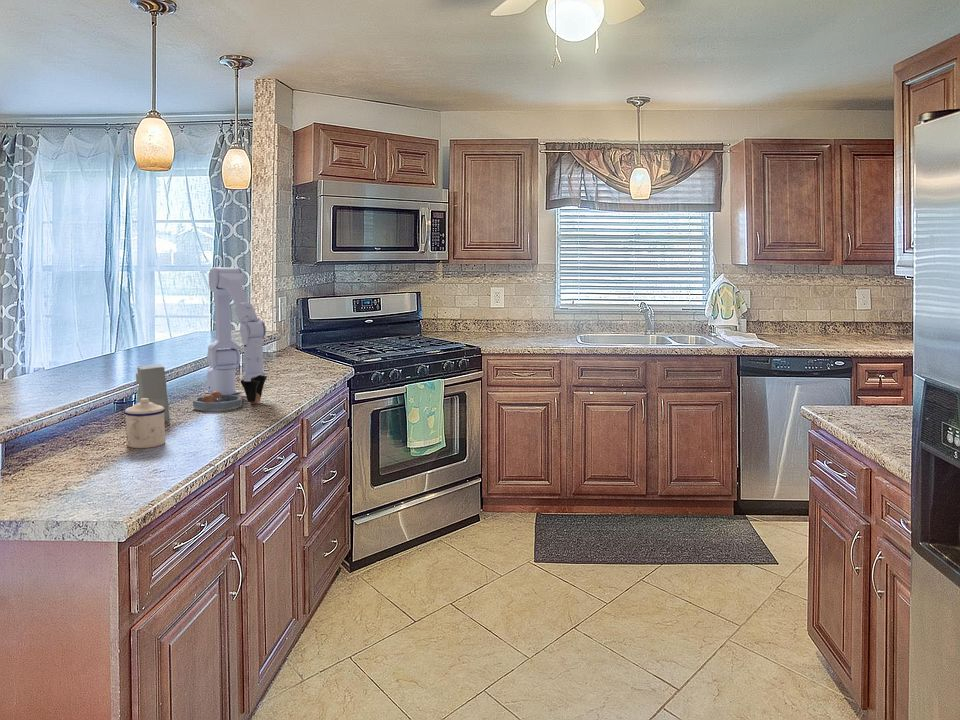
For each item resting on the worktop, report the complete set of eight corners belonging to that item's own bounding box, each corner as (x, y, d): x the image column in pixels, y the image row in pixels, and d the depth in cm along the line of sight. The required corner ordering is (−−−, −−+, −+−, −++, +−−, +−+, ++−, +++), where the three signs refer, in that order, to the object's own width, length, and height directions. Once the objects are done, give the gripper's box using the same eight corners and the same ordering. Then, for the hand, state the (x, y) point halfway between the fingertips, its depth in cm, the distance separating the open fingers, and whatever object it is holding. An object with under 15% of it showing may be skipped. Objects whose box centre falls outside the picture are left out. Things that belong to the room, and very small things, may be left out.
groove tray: (184, 407, 213) (184, 399, 213) (220, 400, 225) (220, 392, 225) (215, 413, 206) (214, 405, 206) (250, 405, 219) (250, 397, 218)
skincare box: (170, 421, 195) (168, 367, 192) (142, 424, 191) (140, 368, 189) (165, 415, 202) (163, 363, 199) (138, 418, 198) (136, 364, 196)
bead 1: (207, 403, 218) (206, 391, 217) (217, 400, 221) (215, 389, 220) (215, 404, 216) (214, 392, 215) (225, 401, 219) (224, 390, 218)
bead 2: (245, 404, 220) (245, 392, 220) (254, 402, 224) (254, 391, 223) (254, 405, 219) (254, 394, 218) (263, 403, 222) (263, 392, 221)
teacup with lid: (139, 438, 176) (137, 394, 174) (173, 440, 175) (171, 395, 173) (110, 451, 164) (108, 403, 162) (147, 453, 163) (144, 405, 161)
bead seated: (199, 406, 212) (199, 394, 211) (209, 404, 215) (209, 392, 215) (207, 407, 210) (207, 395, 210) (217, 405, 213) (217, 393, 213)
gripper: (259, 361, 212) (260, 404, 214) (272, 355, 226) (273, 395, 228) (236, 361, 212) (237, 404, 214) (251, 355, 226) (252, 395, 228)
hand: (254, 399), depth 221 cm, fingers open, 6 cm apart
